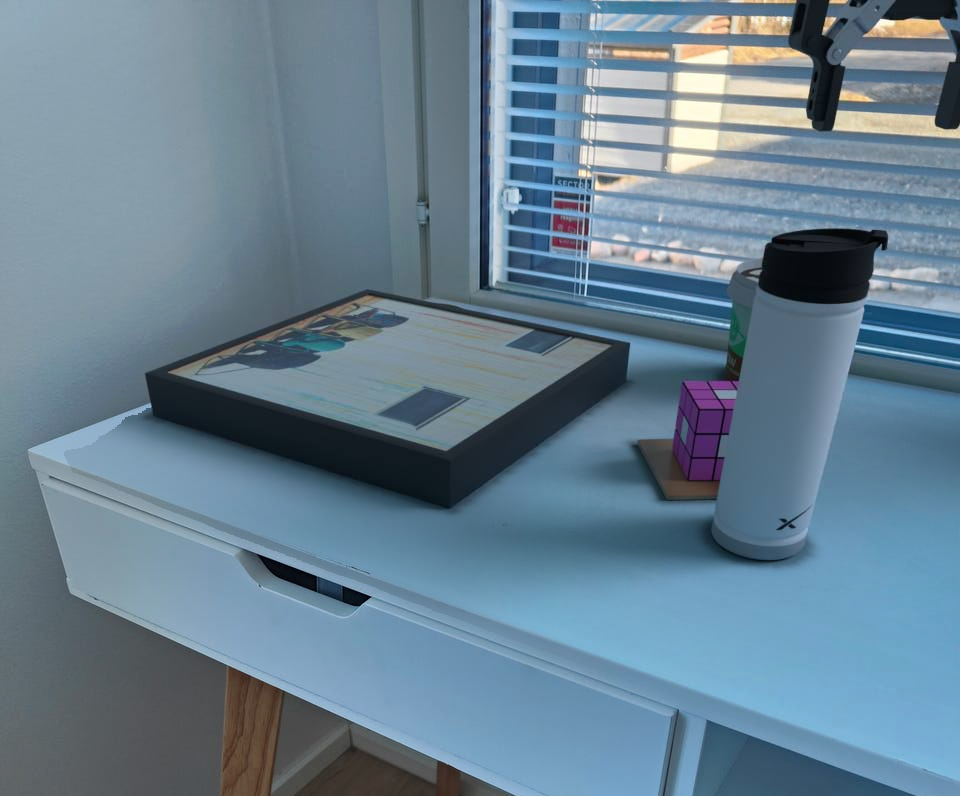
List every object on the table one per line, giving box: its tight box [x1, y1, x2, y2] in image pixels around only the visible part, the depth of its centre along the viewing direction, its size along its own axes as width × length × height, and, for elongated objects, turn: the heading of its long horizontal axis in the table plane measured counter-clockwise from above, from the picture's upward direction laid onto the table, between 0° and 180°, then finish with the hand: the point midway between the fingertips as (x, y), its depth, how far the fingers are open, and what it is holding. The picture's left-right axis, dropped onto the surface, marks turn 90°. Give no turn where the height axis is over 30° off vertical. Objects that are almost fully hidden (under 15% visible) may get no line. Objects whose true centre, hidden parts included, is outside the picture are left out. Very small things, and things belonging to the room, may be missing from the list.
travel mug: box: [710, 227, 889, 561], centre depth 58 cm, size 6×7×20 cm
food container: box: [724, 257, 763, 382], centre depth 85 cm, size 12×6×10 cm, turn 6°
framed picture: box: [144, 288, 631, 509], centre depth 83 cm, size 30×4×30 cm
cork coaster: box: [636, 438, 720, 501], centre depth 73 cm, size 10×10×1 cm
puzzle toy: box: [672, 380, 739, 481], centre depth 71 cm, size 6×6×6 cm
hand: (884, 128), depth 62 cm, fingers open, 8 cm apart
